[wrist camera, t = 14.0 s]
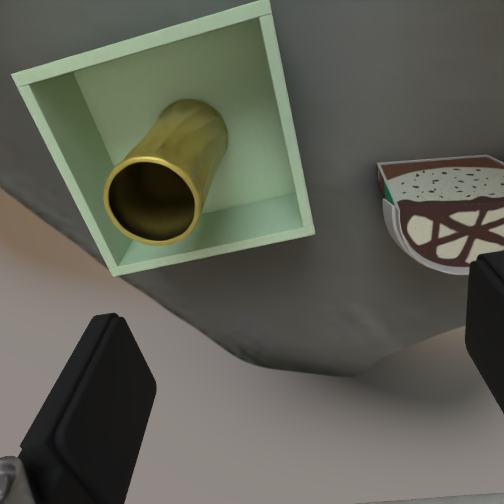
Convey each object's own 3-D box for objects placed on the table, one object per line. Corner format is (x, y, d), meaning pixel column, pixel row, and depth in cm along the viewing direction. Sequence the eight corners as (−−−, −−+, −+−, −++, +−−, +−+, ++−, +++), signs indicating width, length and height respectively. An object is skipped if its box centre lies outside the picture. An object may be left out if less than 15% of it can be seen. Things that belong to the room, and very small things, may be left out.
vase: (224, 176, 36) (203, 260, 23) (154, 166, 35) (96, 245, 23) (232, 104, 33) (214, 157, 20) (156, 92, 32) (90, 138, 20)
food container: (356, 226, 39) (383, 286, 30) (359, 164, 36) (390, 210, 27) (489, 217, 38) (557, 276, 29) (504, 152, 35) (584, 196, 26)
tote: (63, 62, 32) (10, 74, 25) (267, 2, 30) (268, -3, 23) (138, 233, 39) (112, 277, 33) (305, 195, 37) (315, 234, 30)
